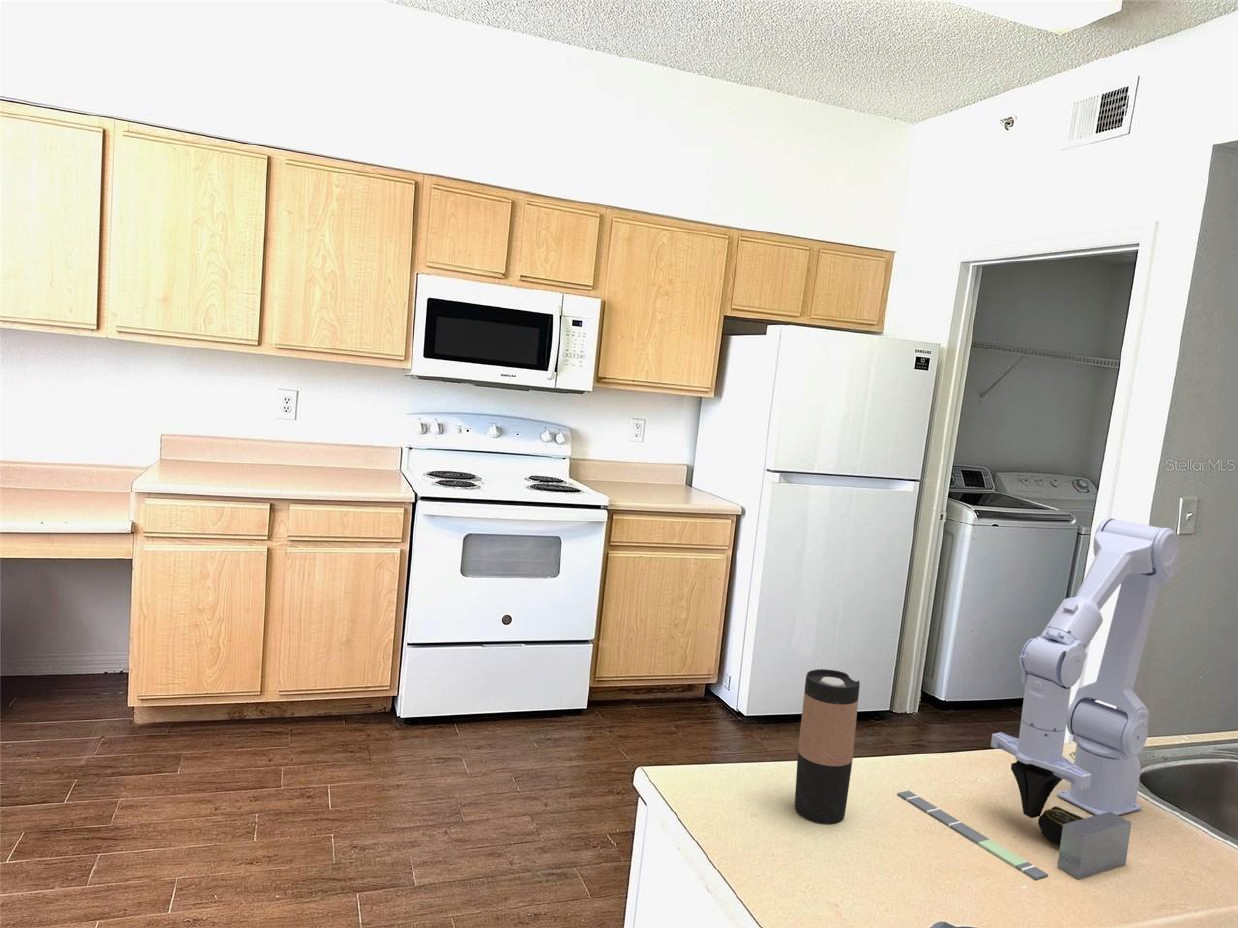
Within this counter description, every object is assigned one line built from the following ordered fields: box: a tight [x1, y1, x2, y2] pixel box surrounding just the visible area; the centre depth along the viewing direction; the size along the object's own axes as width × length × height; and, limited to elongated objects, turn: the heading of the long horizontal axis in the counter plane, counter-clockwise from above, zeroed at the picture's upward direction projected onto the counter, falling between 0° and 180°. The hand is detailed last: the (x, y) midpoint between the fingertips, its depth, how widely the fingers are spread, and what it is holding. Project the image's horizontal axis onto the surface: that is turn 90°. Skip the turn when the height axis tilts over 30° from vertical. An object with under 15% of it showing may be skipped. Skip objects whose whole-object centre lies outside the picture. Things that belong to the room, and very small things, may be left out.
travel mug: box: [794, 668, 861, 825], centre depth 125 cm, size 8×8×20 cm
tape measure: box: [1037, 805, 1085, 847], centre depth 122 cm, size 7×7×4 cm
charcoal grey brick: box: [1057, 812, 1132, 880], centre depth 117 cm, size 10×4×6 cm, turn 118°
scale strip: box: [896, 790, 1049, 881], centre depth 123 cm, size 2×24×1 cm, turn 28°
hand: (1031, 814), depth 125 cm, fingers closed
